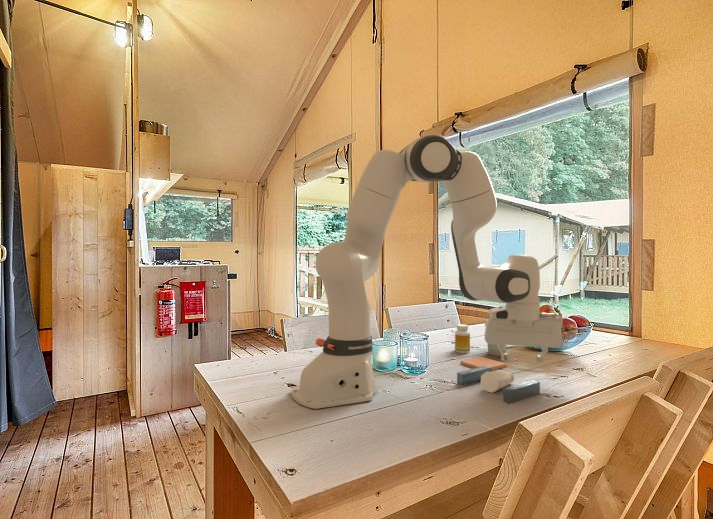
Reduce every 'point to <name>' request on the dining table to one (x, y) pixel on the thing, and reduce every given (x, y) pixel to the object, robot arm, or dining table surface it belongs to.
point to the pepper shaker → (496, 380)
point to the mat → (483, 363)
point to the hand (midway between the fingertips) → (522, 361)
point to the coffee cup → (495, 348)
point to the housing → (509, 392)
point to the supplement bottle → (462, 339)
